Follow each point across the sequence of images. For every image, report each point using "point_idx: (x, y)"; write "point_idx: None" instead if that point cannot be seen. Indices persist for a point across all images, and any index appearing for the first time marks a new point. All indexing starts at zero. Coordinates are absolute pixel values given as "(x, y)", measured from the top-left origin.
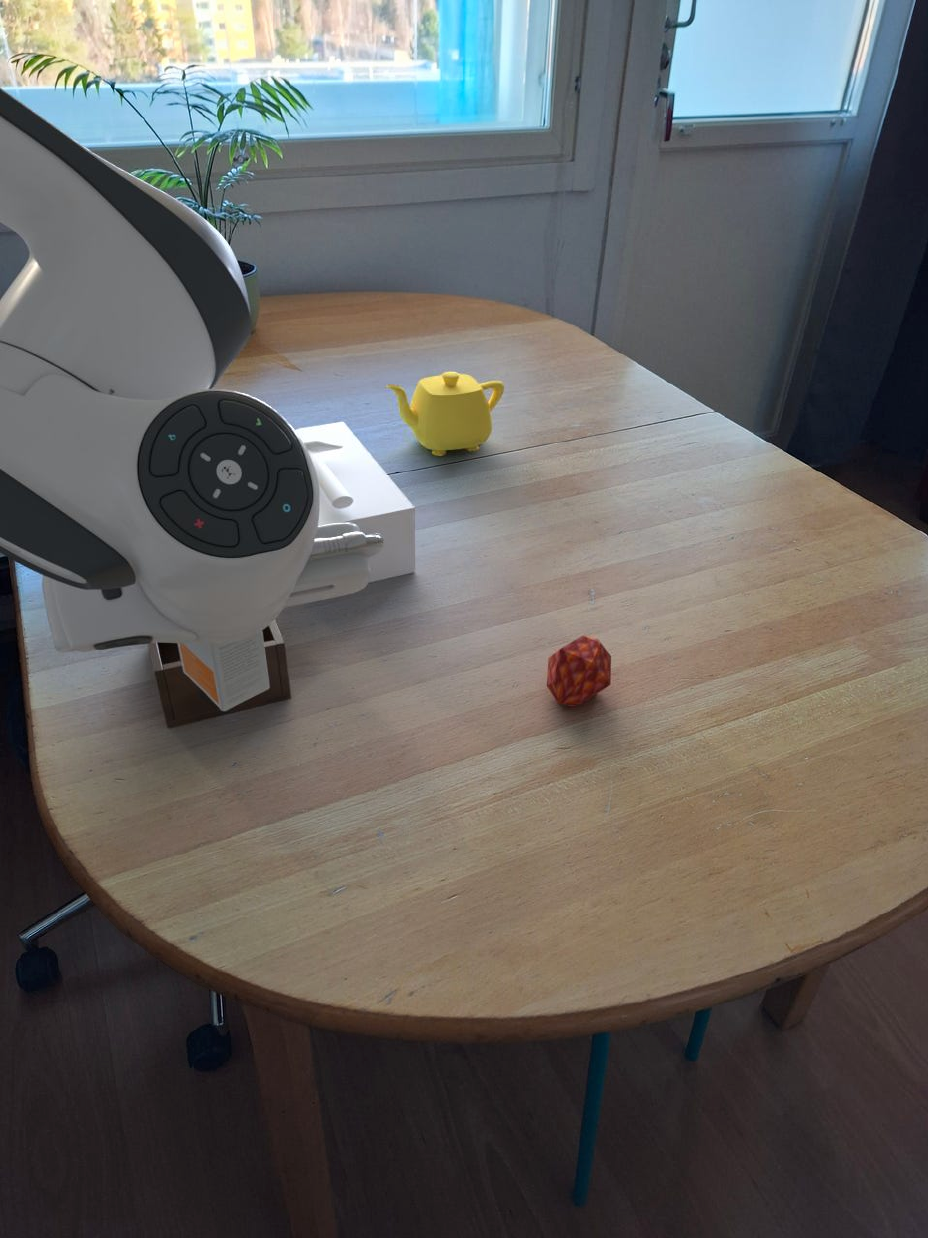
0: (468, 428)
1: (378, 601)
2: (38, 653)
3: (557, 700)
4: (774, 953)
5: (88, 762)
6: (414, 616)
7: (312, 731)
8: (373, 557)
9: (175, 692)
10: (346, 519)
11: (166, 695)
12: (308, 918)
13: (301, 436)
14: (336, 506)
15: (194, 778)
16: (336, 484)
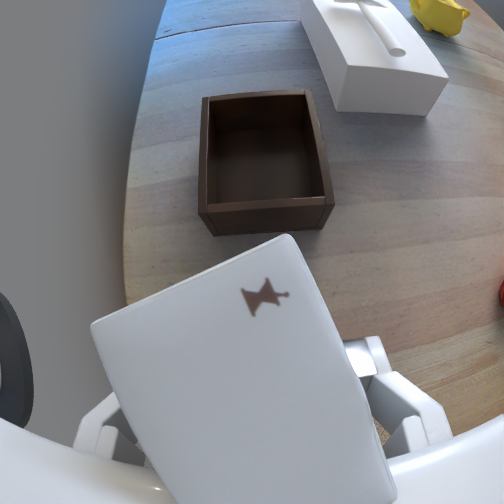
0: (450, 25)
1: (401, 135)
2: (138, 131)
3: (502, 303)
4: None
5: (151, 257)
6: (426, 162)
7: (334, 276)
8: (405, 99)
9: (219, 223)
10: (398, 67)
11: (211, 224)
12: None
13: None
14: (391, 53)
15: None
16: (391, 35)
